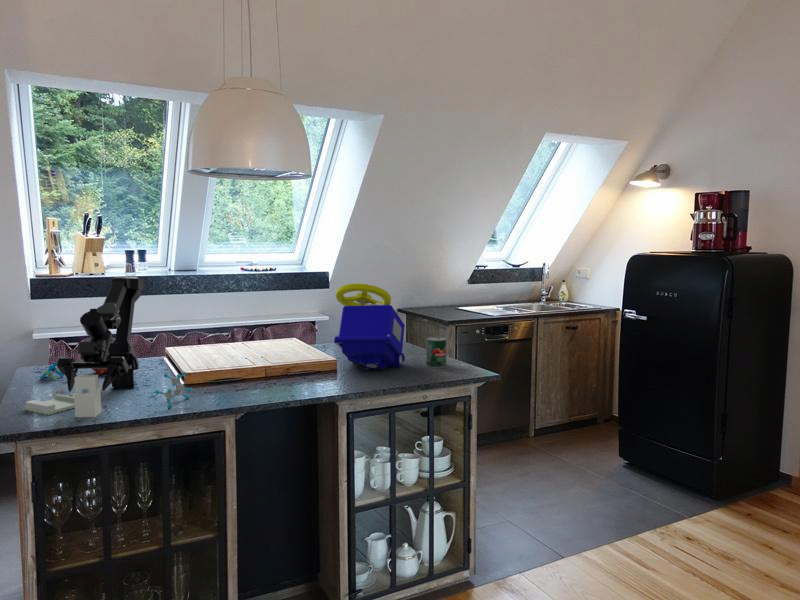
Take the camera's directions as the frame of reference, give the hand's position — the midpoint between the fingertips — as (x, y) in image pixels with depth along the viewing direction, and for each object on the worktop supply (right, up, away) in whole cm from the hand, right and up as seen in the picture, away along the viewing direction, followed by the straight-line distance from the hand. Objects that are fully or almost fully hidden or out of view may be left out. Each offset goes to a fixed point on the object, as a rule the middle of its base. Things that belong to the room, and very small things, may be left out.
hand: (86, 390), depth 175 cm
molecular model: (+20, -6, +15) cm, 25 cm away
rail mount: (-13, -6, +11) cm, 18 cm away
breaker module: (0, -7, +2) cm, 7 cm away
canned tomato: (+105, 0, +67) cm, 125 cm away
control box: (+77, 0, +67) cm, 102 cm away
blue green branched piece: (-35, -2, +44) cm, 56 cm away
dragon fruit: (-20, -2, +51) cm, 55 cm away
